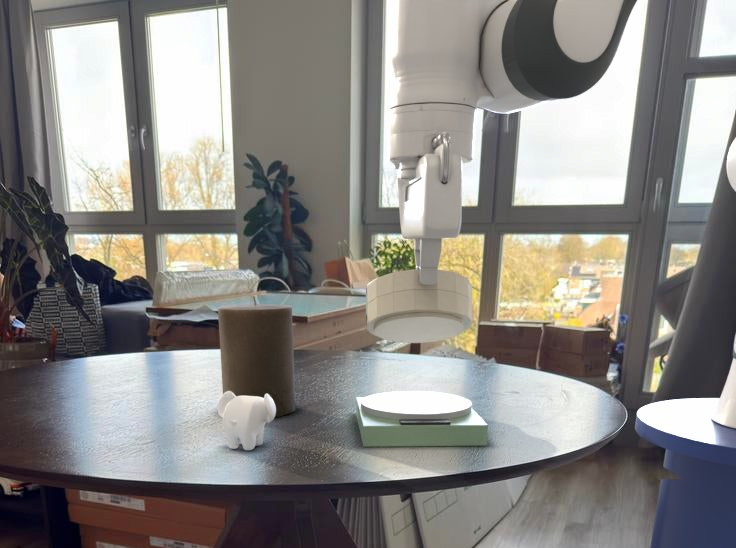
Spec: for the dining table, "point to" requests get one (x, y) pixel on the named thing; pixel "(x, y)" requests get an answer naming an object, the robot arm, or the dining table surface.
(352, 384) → the dining table surface
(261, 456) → the dining table surface
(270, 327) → the pillar candle
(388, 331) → the bowl
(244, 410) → the elephant figurine
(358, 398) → the scale
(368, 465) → the dining table surface
